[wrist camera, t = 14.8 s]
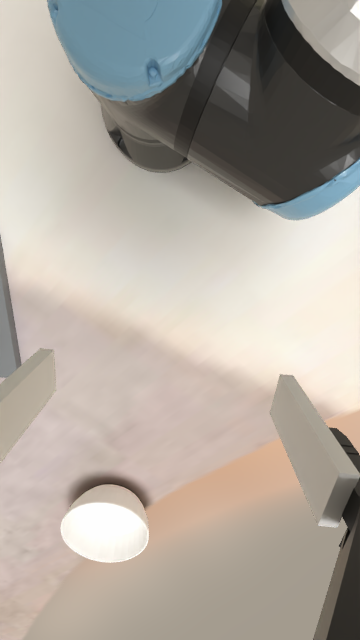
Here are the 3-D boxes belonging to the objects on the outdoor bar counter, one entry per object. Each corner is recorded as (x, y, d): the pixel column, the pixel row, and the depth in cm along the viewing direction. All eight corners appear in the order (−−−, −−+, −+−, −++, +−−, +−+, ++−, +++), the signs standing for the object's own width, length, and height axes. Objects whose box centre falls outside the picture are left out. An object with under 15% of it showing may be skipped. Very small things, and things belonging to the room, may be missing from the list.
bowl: (167, 513, 65) (164, 547, 58) (102, 536, 68) (93, 571, 61) (125, 459, 59) (117, 490, 53) (57, 487, 63) (42, 520, 56)
